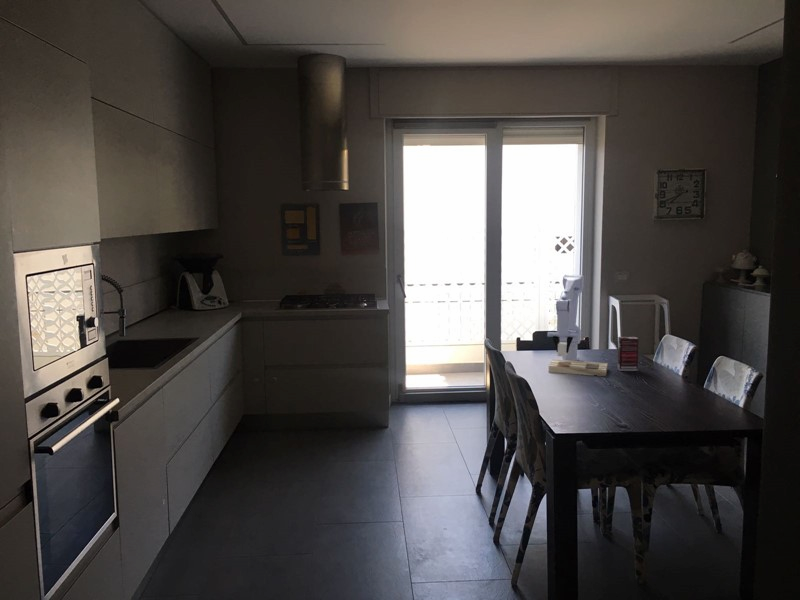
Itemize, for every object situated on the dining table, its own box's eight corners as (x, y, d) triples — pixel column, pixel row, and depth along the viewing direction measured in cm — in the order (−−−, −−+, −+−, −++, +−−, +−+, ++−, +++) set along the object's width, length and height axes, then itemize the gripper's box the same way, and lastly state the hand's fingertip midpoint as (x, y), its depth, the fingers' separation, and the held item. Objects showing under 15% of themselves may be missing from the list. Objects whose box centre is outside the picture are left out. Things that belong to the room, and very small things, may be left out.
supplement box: (635, 368, 309) (636, 336, 307) (637, 371, 304) (639, 338, 302) (616, 368, 310) (618, 336, 308) (619, 371, 305) (620, 338, 303)
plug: (558, 354, 311) (558, 342, 310) (567, 354, 309) (567, 342, 308) (557, 356, 307) (557, 343, 306) (566, 356, 306) (566, 344, 305)
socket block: (552, 365, 318) (552, 358, 317) (607, 369, 308) (607, 362, 308) (548, 371, 305) (548, 364, 304) (605, 376, 295) (605, 369, 295)
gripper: (546, 324, 305) (545, 352, 307) (577, 326, 300) (577, 354, 302) (548, 322, 312) (548, 349, 314) (579, 324, 306) (578, 351, 308)
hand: (562, 352), depth 308 cm, fingers closed on plug, 4 cm apart
